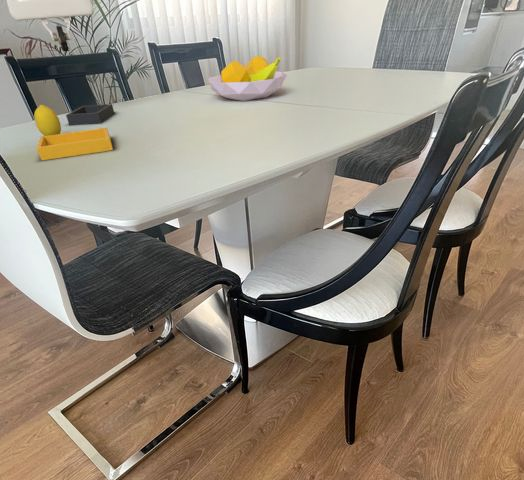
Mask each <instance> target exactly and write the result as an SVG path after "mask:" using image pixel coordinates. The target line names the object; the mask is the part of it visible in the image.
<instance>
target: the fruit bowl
mask: <svg viewBox="0 0 524 480" xmlns="http://www.w3.org/2000/svg"><path fill="white" fill-rule="evenodd" d="M280 62H281V57H279V56H278V57H276V59H275V60H274V61H273V62H271V63H270V62H269V61H268V60H267V59H266V58H265V57H263V56H262V55H258V56H254V57H252V58H251V59H250V60H249V61H248V62H247V63H246V64H245V66H244V65H243V64H242V63H241V62H239V61H238V60H232V61H230V62H229V63H228V64H227V65H226V66H225V67H224V68H223V69H222V70H221V71H220V74H218V75H214V76H211V77H208V83H209V86H210V89H211V91H212V92H214V93H216V94H218V95H220V96H222V97H224V98H226V99H227V100H235V101H241V102H246V101H247V102H248V101H252V100H253V101H254V100H259V99H265V98H268V97H270V96H271V95H272V94H274V93H275V92H276V91H278V90H279V89H280V88H281V87H282V86H283V84H284V81H285V80H286V78H287V76H288V74H287V73H286V72H284V71H279V70H278V71H277V69H278V65H279V63H280Z"/></svg>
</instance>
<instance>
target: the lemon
mask: <svg viewBox="0 0 524 480" xmlns="http://www.w3.org/2000/svg"><path fill="white" fill-rule="evenodd" d="M33 114H34V115H33V116H34V117H33V118H34V123H35V125H36V128H37V129H38V131H39V132H40V134H41V135H42V136H48V135H56V134H61V132H62V125H61V122H60V119H59V117H58V115H57V114H56V112H55V111H54V110H53V109H52V108H50V107H48V106H47V105H46V106H45V105H43V104H39V106H38V107H36V109H35V110H34V113H33Z"/></svg>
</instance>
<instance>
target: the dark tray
mask: <svg viewBox="0 0 524 480" xmlns="http://www.w3.org/2000/svg"><path fill="white" fill-rule="evenodd" d="M115 114H116V113H115V110H114V105H113V104H112V103H109V104H108V103H107V104H92V105H81V106H80V107H78V108H76V109H74V110H73V111H71V112H69V113H67V114H65V116H66V120H67V122H68V125H69V126H77V125H92V124H93V125H95V124H103V122H104V121H106V120H108V119H109V118H111V117H112V116H113V115H115Z"/></svg>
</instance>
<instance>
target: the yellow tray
mask: <svg viewBox="0 0 524 480" xmlns="http://www.w3.org/2000/svg"><path fill="white" fill-rule="evenodd" d="M36 150H37V153H38V155H39V158H40V160H41V161H48V160H55V159H62V158H68V157H75V156H82V155H83V156H84V155H89V154H96V153H102V152H103V153H104V152H110V151H111V152H112V151H114V148H113V144H112V140H111V136H110V133H109V129H108V127H102V128H94V129H85V130H79V131H71V132H64V133H60V134H56V135H48V136H44V135H42V136H41V135H40V136H39V140H38V142H37V146H36Z"/></svg>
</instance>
